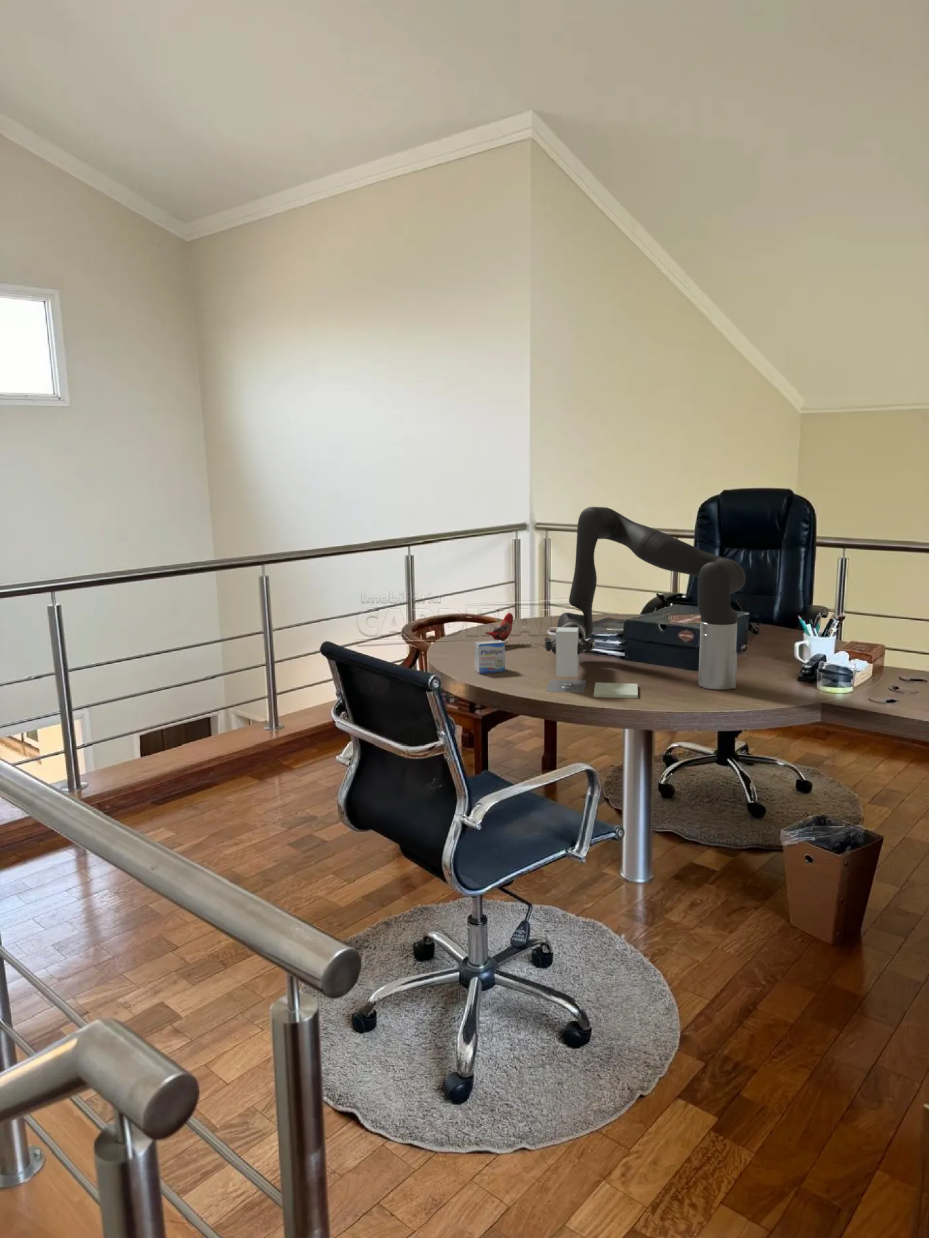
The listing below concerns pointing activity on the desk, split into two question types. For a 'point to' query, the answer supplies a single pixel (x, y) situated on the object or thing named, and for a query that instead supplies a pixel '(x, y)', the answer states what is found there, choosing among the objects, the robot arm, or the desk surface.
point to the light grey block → (567, 652)
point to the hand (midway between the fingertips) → (566, 650)
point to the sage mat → (616, 690)
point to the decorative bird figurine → (503, 628)
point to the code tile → (566, 686)
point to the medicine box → (489, 656)
